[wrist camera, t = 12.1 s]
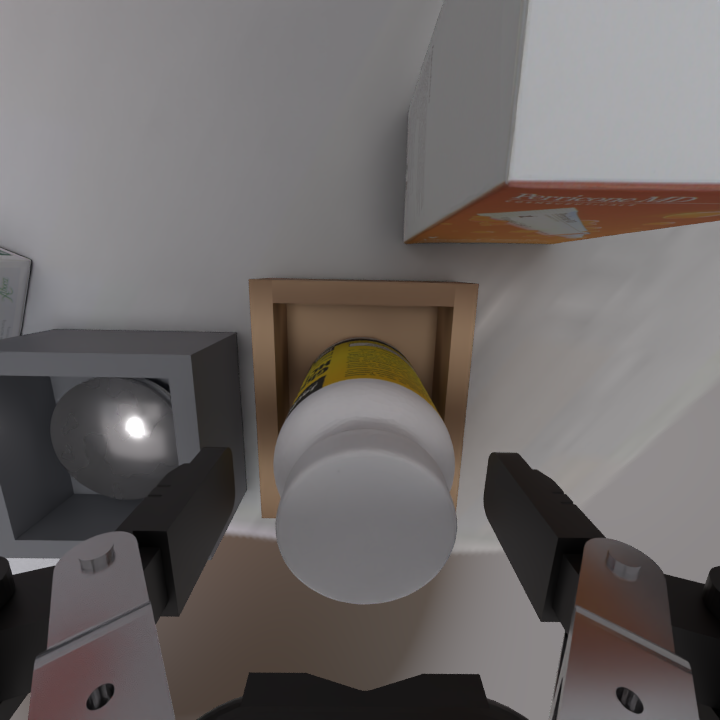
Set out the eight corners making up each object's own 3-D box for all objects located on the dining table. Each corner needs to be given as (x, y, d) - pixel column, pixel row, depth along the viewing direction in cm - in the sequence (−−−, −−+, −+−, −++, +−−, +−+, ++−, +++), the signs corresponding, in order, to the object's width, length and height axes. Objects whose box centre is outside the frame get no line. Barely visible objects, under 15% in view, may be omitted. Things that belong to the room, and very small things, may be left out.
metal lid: (52, 372, 17) (37, 376, 16) (186, 374, 17) (178, 379, 17) (76, 489, 19) (63, 498, 18) (198, 491, 19) (192, 500, 18)
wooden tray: (269, 278, 19) (248, 279, 15) (455, 281, 19) (478, 284, 15) (278, 476, 22) (261, 517, 18) (438, 478, 22) (455, 520, 18)
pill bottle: (318, 323, 19) (266, 392, 8) (429, 349, 19) (524, 449, 8) (296, 427, 20) (226, 606, 9) (400, 450, 20) (448, 646, 10)
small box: (401, 246, 18) (497, 188, 6) (406, 108, 17) (550, -377, 4) (553, 247, 19) (974, 193, 6) (572, 110, 17) (1193, -358, 4)
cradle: (55, 329, 19) (-60, 350, 14) (236, 332, 19) (190, 355, 14) (85, 488, 22) (-3, 557, 16) (246, 490, 22) (211, 559, 17)
